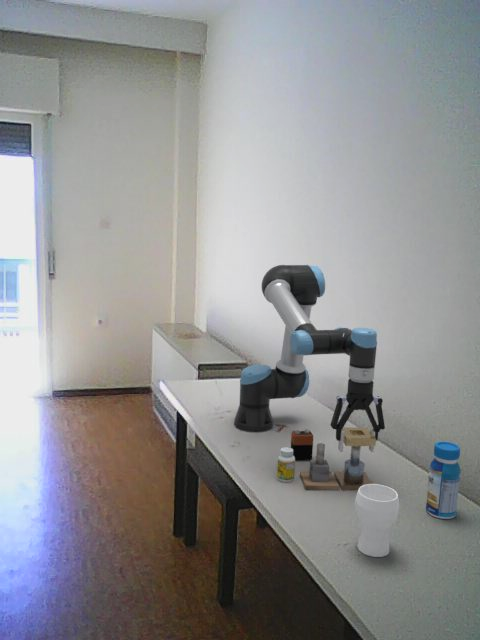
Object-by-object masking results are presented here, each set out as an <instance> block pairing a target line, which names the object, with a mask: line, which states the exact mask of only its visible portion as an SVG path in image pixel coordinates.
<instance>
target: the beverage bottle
mask: <svg viewBox="0 0 480 640" xmlns="http://www.w3.org/2000/svg"><path fill="white" fill-rule="evenodd" d="M433 455H434V458H433V459H432V461H431V462H430V464H429V469H430V471H429V472H428V483H427V494H426V503H425V511H426V512H427V513H428V514H429V515H430V516H432V517H435V518H438V519H442V520H451V519H453V518H455V517H456V516H457V507H458V498H459V490H460V483H461V477H460V474H461V472H462V471H461V470H462V469H461V466H460V464H459V462H458V461H459V459H460V455H461V447H460V446H459V445H458V444H456V443H454V442H450V441H437V442H436V443H434V449H433Z"/></svg>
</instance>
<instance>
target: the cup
mask: <svg viewBox="0 0 480 640" xmlns="http://www.w3.org/2000/svg"><path fill="white" fill-rule="evenodd" d="M354 499H355V500H354V509H355V514H356V518H357V521H358V522H359V526H360V529H359V530H360V535H359V538H358V542H357V549H358V550H359V551H360V552H361V553H362V554H364V555H366V556H369V557H373V558H382V557H385V556H388V555H389V553H390V541H389V537H390V533H391V529H392V528H393V526H394V525H395V523H396V522H397V519H398V516H399V514H400V500H399V494H398V492H397V491H396V490H395V489H393V488H391V487H389V486H386V485H382V484H379V483H373V484H366V485H363V486H361V487H360V488H359V489H358V490H357V493H356V496H355V498H354Z"/></svg>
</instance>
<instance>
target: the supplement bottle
mask: <svg viewBox="0 0 480 640" xmlns="http://www.w3.org/2000/svg"><path fill="white" fill-rule="evenodd" d="M279 453H280V454H279V455H278V457H277V468H276V469H277V471H276V473H277V474H276V475H277V476H276V479H277V480H278V481H280V482H284V483H289V482H293V481H294V480H295V472H296V471H295V470H296V468H295V467H296V461H295V457H294V456H293V449H292V448H291V447H286V446H285V447H281V448H280V452H279Z"/></svg>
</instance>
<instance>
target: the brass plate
mask: <svg viewBox="0 0 480 640" xmlns="http://www.w3.org/2000/svg"><path fill="white" fill-rule="evenodd" d="M343 431H344V439H343V445H345V446H346V447H351V446H361V447H369V446H374V447H376V445H377V444H376V443H377V441H376V438H375V436H374V435H373V434H372V433H371V432H370V429H369V428H368V427H346V426H345V427H343Z"/></svg>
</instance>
